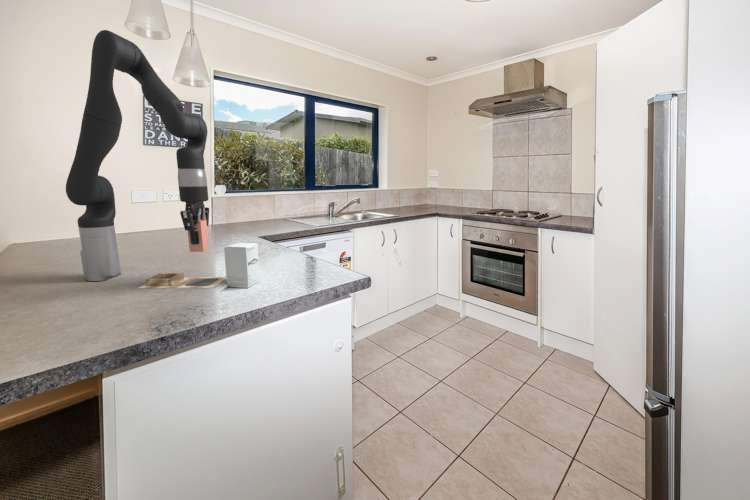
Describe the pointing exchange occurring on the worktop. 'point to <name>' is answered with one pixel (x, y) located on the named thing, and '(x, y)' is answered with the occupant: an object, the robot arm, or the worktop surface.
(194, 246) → the block
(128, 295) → the worktop surface
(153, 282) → the board
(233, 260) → the supplement box
